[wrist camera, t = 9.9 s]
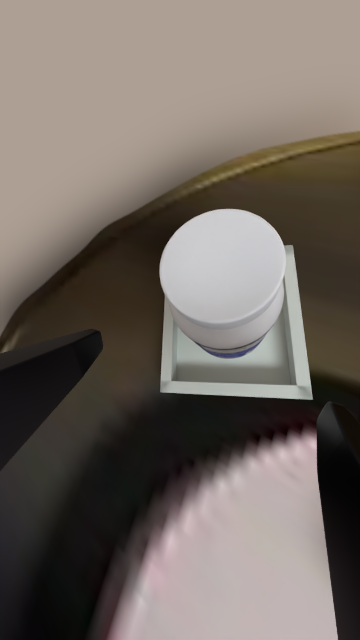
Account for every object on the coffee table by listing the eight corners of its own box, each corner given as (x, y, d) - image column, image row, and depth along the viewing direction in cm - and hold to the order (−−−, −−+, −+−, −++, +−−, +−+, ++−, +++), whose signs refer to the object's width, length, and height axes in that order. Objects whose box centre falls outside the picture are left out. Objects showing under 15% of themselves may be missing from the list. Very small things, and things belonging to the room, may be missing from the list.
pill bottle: (189, 297, 18) (143, 215, 9) (257, 286, 17) (284, 177, 8) (196, 363, 17) (148, 346, 7) (271, 356, 16) (327, 324, 6)
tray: (302, 396, 15) (312, 399, 13) (168, 390, 17) (160, 392, 15) (286, 259, 18) (292, 245, 16) (173, 270, 20) (166, 259, 18)
